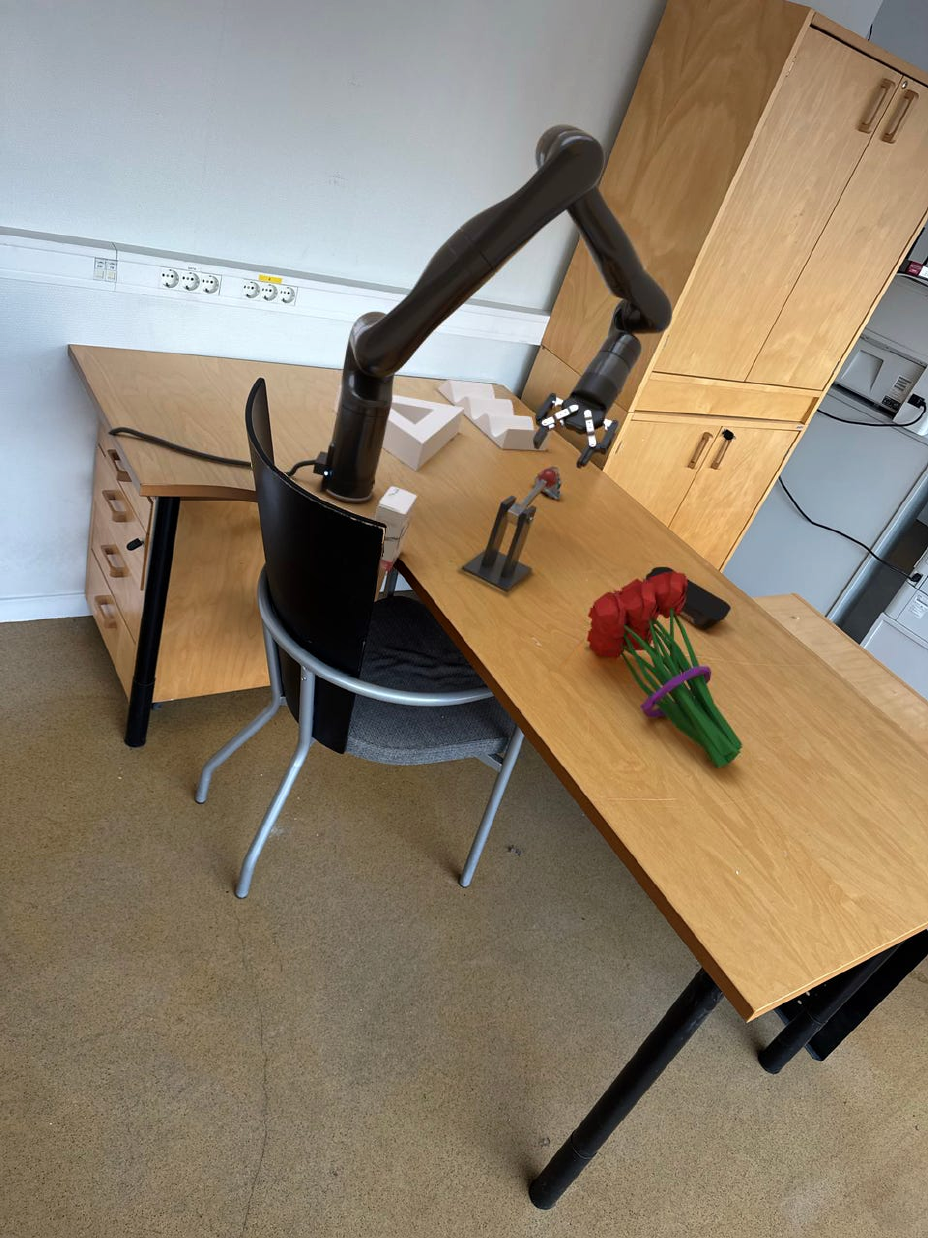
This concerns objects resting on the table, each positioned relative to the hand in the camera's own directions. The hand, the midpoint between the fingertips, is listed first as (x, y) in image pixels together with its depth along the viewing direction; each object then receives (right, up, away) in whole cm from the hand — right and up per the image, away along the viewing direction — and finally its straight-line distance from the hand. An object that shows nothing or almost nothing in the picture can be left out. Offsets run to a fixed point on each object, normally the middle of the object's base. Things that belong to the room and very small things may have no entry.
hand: (556, 456), depth 149 cm
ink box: (-30, -19, -6) cm, 36 cm away
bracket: (-11, -21, +1) cm, 23 cm away
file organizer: (-10, +22, +68) cm, 72 cm away
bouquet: (+13, -42, -20) cm, 48 cm away
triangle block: (-27, +13, +45) cm, 54 cm away
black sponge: (+24, -27, +10) cm, 37 cm away
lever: (-5, -8, 0) cm, 9 cm away
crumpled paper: (+1, -1, +37) cm, 37 cm away
